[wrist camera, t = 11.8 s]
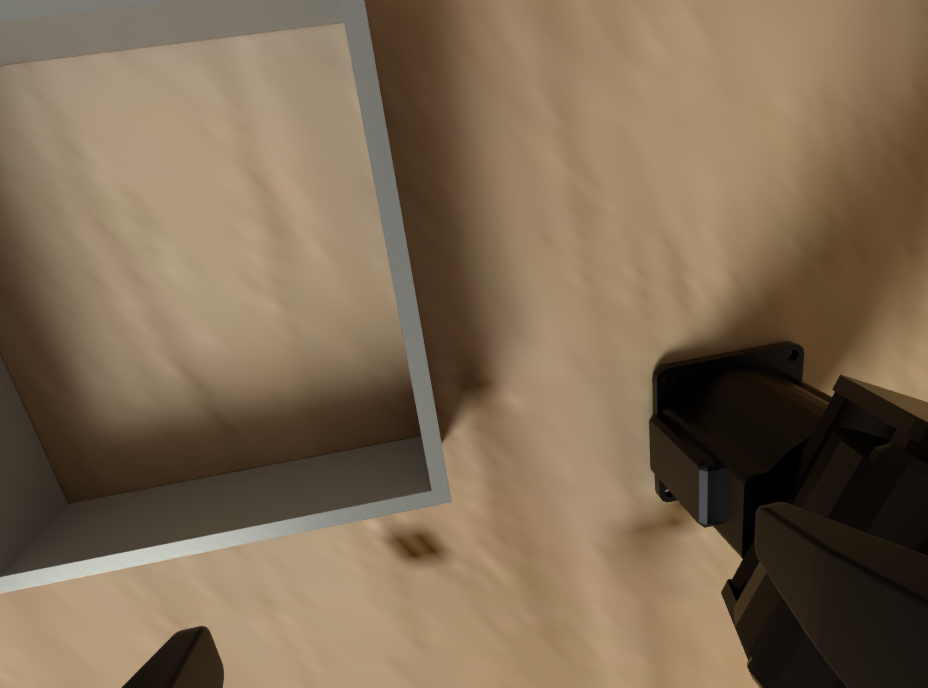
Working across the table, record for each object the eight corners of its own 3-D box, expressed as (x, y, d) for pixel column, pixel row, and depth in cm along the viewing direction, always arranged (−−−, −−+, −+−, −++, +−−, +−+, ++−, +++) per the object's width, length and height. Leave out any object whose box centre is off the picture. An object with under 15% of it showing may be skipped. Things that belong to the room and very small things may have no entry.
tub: (362, -2, 17) (356, -50, 13) (440, 445, 22) (451, 502, 19) (-155, 61, 16) (-325, 28, 12) (57, 519, 21) (-14, 596, 17)
